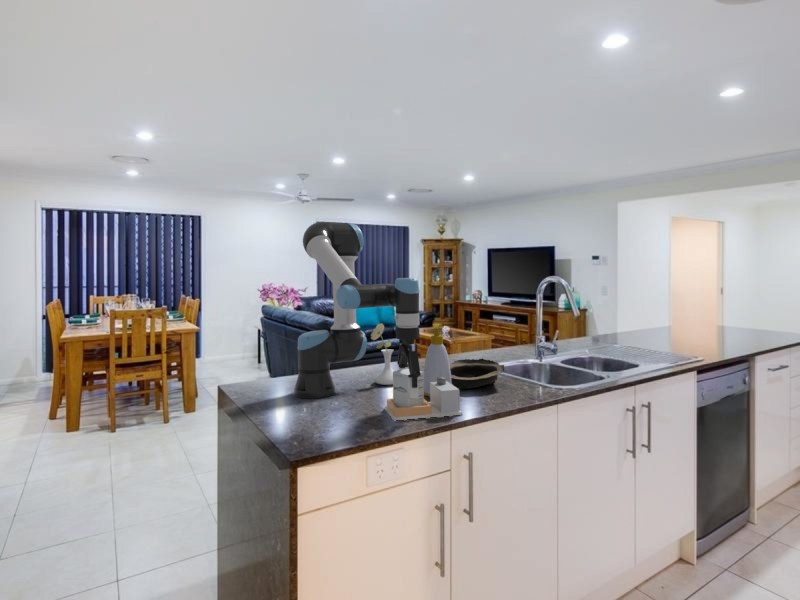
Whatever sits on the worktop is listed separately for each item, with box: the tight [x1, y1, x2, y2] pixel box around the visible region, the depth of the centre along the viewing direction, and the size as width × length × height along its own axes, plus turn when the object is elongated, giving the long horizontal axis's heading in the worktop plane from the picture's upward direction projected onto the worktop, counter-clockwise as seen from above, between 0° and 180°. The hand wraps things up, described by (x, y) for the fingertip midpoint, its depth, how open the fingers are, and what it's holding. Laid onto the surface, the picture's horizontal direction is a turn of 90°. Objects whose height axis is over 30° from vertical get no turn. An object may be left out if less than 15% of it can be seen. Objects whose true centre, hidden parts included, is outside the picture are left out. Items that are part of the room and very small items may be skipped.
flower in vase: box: [370, 323, 395, 386], centre depth 192 cm, size 13×11×25 cm
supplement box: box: [392, 368, 425, 408], centre depth 152 cm, size 7×7×13 cm
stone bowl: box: [450, 357, 505, 390], centre depth 187 cm, size 25×25×9 cm
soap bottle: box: [423, 323, 453, 398], centre depth 175 cm, size 11×12×26 cm
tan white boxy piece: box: [384, 377, 463, 422], centre depth 153 cm, size 22×14×10 cm, turn 103°
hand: (408, 392), depth 152 cm, fingers open, 13 cm apart
